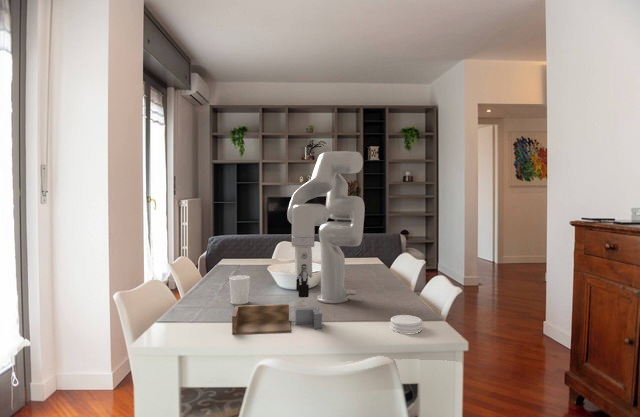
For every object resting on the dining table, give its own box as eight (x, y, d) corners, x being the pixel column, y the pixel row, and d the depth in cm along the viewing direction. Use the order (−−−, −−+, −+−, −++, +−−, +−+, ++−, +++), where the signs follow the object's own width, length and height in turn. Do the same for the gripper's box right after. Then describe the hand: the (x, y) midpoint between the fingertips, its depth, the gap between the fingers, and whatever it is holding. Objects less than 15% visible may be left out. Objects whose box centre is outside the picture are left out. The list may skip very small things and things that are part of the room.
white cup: (245, 305, 163) (245, 279, 162) (226, 304, 164) (225, 278, 164) (252, 300, 171) (252, 275, 170) (234, 299, 172) (234, 274, 172)
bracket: (318, 322, 143) (319, 307, 143) (321, 329, 136) (321, 313, 136) (295, 322, 142) (295, 308, 142) (296, 330, 135) (296, 314, 135)
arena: (288, 320, 145) (288, 304, 145) (290, 332, 133) (290, 314, 133) (235, 322, 143) (234, 305, 142) (232, 334, 131) (232, 316, 131)
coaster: (402, 336, 130) (402, 325, 130) (384, 327, 139) (384, 316, 139) (428, 332, 134) (428, 321, 134) (409, 323, 143) (410, 313, 143)
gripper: (317, 244, 132) (316, 299, 132) (311, 239, 149) (310, 288, 149) (293, 244, 131) (292, 300, 131) (290, 239, 148) (289, 288, 149)
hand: (302, 293), depth 140 cm, fingers open, 9 cm apart
